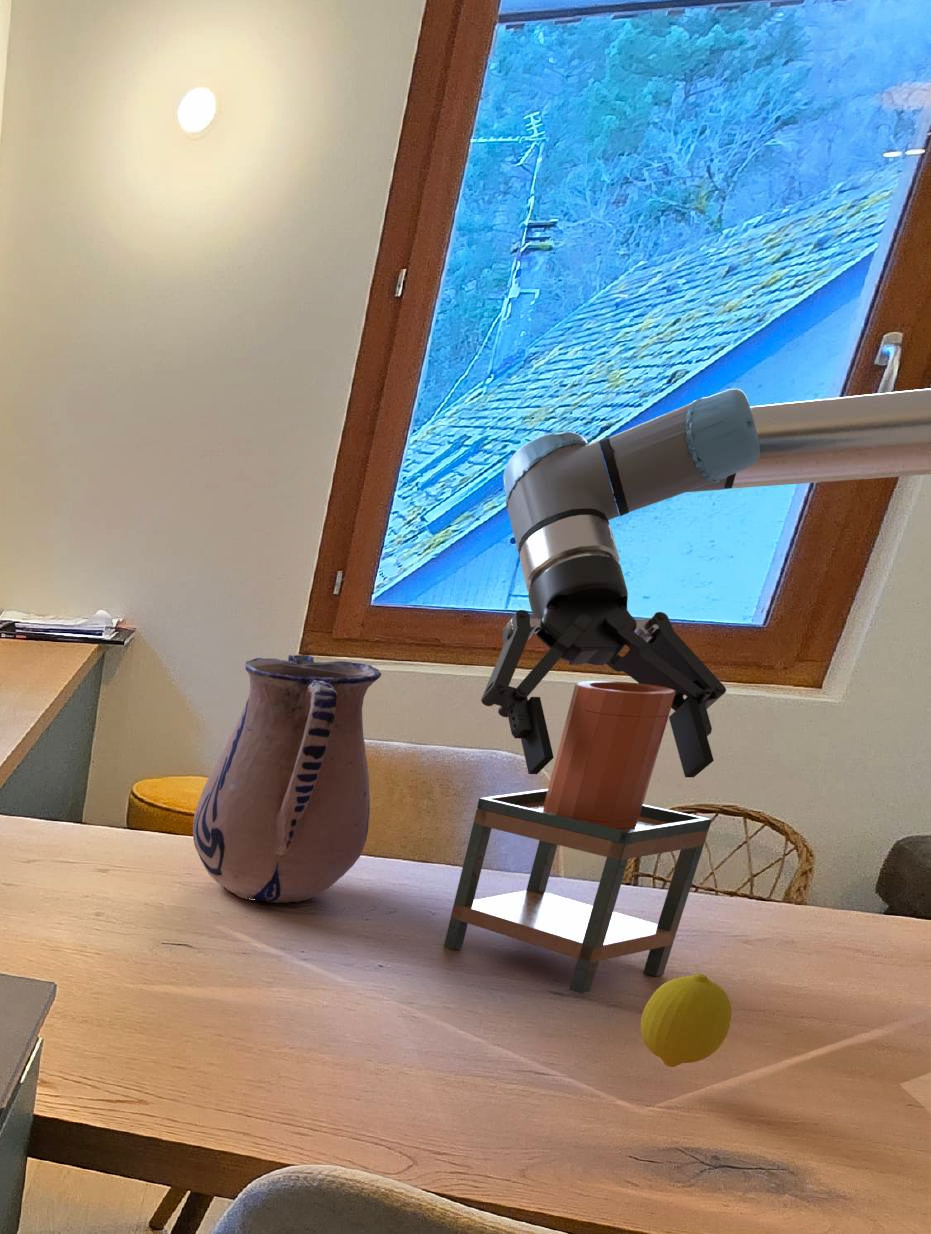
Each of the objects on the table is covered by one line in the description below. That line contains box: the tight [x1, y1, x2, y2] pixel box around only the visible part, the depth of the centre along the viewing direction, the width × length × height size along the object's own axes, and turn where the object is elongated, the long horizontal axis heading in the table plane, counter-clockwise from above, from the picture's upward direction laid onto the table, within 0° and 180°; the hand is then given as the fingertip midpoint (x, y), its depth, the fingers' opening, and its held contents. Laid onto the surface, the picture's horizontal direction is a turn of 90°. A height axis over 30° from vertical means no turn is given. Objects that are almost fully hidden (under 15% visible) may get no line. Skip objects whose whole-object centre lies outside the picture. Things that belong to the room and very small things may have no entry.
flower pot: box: [543, 680, 676, 829], centre depth 119 cm, size 7×7×12 cm
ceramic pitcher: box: [192, 654, 382, 904], centre depth 140 cm, size 18×21×25 cm
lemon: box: [640, 972, 732, 1068], centre depth 103 cm, size 6×6×8 cm
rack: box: [443, 788, 713, 995], centre depth 124 cm, size 14×12×15 cm
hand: (619, 768), depth 117 cm, fingers open, 13 cm apart
